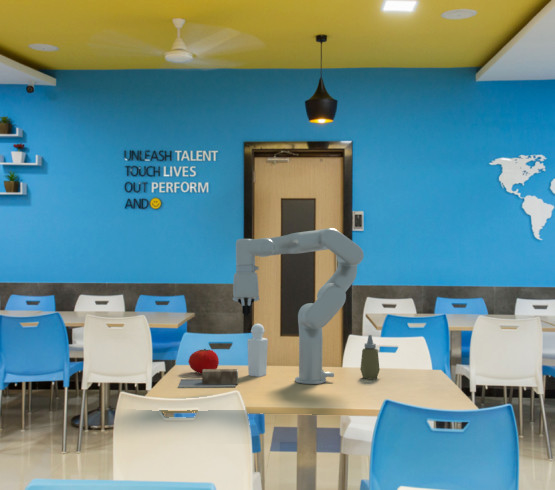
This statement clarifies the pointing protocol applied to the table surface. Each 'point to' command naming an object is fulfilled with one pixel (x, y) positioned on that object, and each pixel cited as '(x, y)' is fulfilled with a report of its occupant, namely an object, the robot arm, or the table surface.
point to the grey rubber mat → (200, 384)
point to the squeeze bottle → (370, 360)
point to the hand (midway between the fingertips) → (246, 315)
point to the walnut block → (220, 376)
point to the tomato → (203, 360)
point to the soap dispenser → (257, 352)
